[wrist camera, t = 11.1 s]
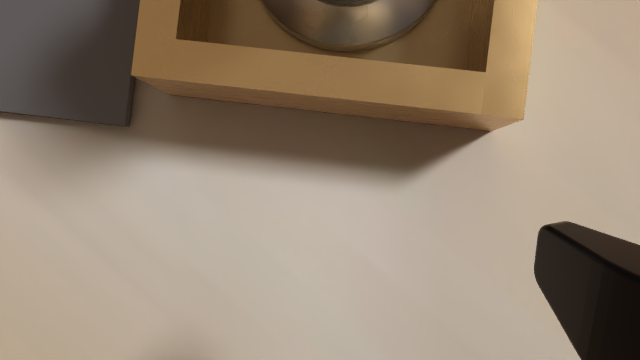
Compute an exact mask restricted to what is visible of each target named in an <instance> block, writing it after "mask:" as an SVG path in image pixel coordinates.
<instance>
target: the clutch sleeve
mask: <svg viewBox="0 0 640 360" xmlns="http://www.w3.org/2000/svg"><path fill="white" fill-rule="evenodd" d="M260 1H261V2H262V4H263V6H264V8H265V9H266V10H267V12H268V13H269V14H270V15H271V17H272V18H273V19H274V20H275V21H276V22H277V23H278V24H279V25H280V26H281V27H282V28H284V29H285V30H286V31H287V32H289V33H290V34H291V35H293V36H295V37H296V38H298V39H300V40H302V41H304V42H306V43H308V44H311V45H313V46H316V47H320V48H324V49H327V50H335V51H360V50H368V49H371V48H375V47H379V46H382V45H384V44H387V43H389V42H391V41H394V40H395V39H397V38H399V37H401V36H402V35H404V34H406V33H407V32H408V31H410V30H411V29H412V28H413V27H415V26H416V25H417V24H418V23H419V22H420V21H421V20H422V19H423V18H424V17H425V16H426V15H427V13H428V12H429V11H430V10H431V8H432V7H433V6H434V4H435V2H436V1H437V0H260Z"/></svg>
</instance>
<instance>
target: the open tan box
mask: <svg viewBox="0 0 640 360" xmlns="http://www.w3.org/2000/svg"><path fill="white" fill-rule="evenodd" d="M537 3H538V0H437V1H436V2H435V4H434V6H433V7H432V8H431V10H430V11H429V12H428V13H427V15H426V16H425V17H424V18H423V19H422V20H421V21H420V22H419V23H418V24H417V25H416V26H415V27H413V28H412V29H411V30H410V31H408V32H407V33H406V34H404V35H402V36H401V37H399V38H397V39H395V40H394V41H391V42H389V43H387V44H384V45H382V46H379V47H375V48H371V49H368V50H360V51H335V50H327V49H324V48H320V47H316V46H313V45H311V44H308V43H306V42H304V41H302V40H300V39H298V38H296V37H295V36H293V35H291V34H290V33H289V32H287V31H286V30H285V29H284V28H282V27H281V26H280V25H279V24H278V23H277V22H276V21H275V20H274V19H273V18H272V17H271V15H270V14H269V13H268V12H267V10H266V9H265V8H264V6H263V4H262V2H261V1H260V0H140V5H139V13H138V21H137V29H136V38H135V46H134V54H133V63H132V71H131V76H133V77H135V78H137V79H139V80H141V81H143V82H145V83H147V84H149V85H151V86H153V87H155V88H157V89H159V90H161V91H163V92H165V93H167V94H169V95H178V96H187V97H196V98H205V99H214V100H223V101H231V102H240V103H249V104H258V105H267V106H276V107H284V108H293V109H302V110H311V111H320V112H329V113H338V114H346V115H355V116H364V117H373V118H382V119H391V120H400V121H408V122H417V123H426V124H435V125H444V126H453V127H462V128H470V129H479V130H488V131H494V130H496V129H499V128H501V127H504V126H507V125H509V124H512V123H515V122H517V121H520V120H523V119H524V112H525V103H526V95H527V87H528V78H529V70H530V61H531V53H532V45H533V36H534V28H535V19H536V11H537Z"/></svg>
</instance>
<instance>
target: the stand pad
mask: <svg viewBox="0 0 640 360" xmlns="http://www.w3.org/2000/svg"><path fill="white" fill-rule="evenodd" d="M139 5H140V0H0V112H8V113H17V114H25V115H34V116H43V117H51V118H60V119H68V120H77V121H85V122H94V123H103V124H111V125H120V126H128V127H129V123H130V115H131V107H132V98H133V90H134V82H135V77H133V76H131V71H132V63H133V54H134V46H135V38H136V29H137V21H138V13H139Z"/></svg>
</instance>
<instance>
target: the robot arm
mask: <svg viewBox="0 0 640 360" xmlns="http://www.w3.org/2000/svg"><path fill="white" fill-rule="evenodd" d="M534 274H535V278H536V281H537V283H538V285H539V287H540V289H541V291H542V292H543V294H544V296H545V298H546V299H547V301H548V303H549V305H550V306H551V308H552V310H553V312H554V313H555V315H556V317H557V319H558V320H559V322H560V324H561V326H562V327H563V329H564V331H565V333H566V334H567V336H568V338H569V340H570V341H571V343H572V345H573V347H574V348H575V350H576V352H577V353H578V355H579V357H580V358H581V360H640V245H638V244H635V243H632V242H629V241H626V240H623V239H620V238H617V237H614V236H611V235H608V234H605V233H602V232H599V231H596V230H593V229H590V228H587V227H584V226H581V225H578V224H575V223H572V222H567V221H563V222H558V223H553V224H548V225H544V226H543V227H541V228H540V230H539V233H538V238H537V247H536V255H535V263H534Z"/></svg>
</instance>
